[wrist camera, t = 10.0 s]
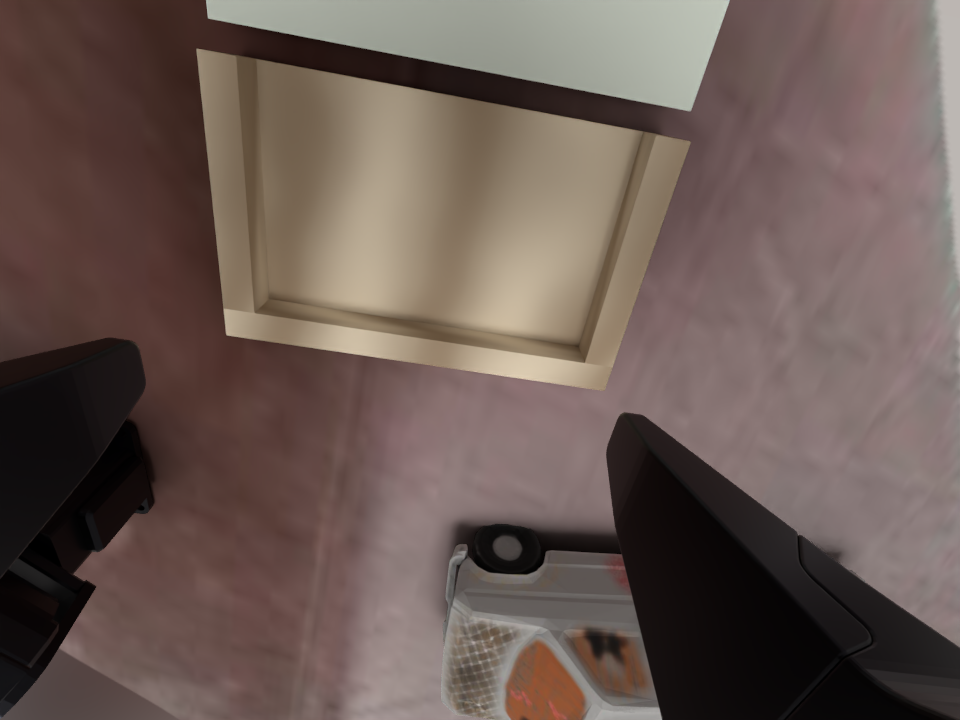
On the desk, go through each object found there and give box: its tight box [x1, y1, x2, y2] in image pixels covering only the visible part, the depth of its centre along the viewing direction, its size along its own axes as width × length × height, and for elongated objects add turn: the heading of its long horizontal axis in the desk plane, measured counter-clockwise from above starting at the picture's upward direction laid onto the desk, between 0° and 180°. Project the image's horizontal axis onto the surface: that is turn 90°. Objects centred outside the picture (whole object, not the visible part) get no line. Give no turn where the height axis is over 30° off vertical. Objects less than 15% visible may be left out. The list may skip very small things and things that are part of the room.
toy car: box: [441, 524, 865, 720], centre depth 28 cm, size 11×25×10 cm, turn 85°
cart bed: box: [196, 49, 691, 391], centre depth 19 cm, size 16×10×3 cm, turn 81°
